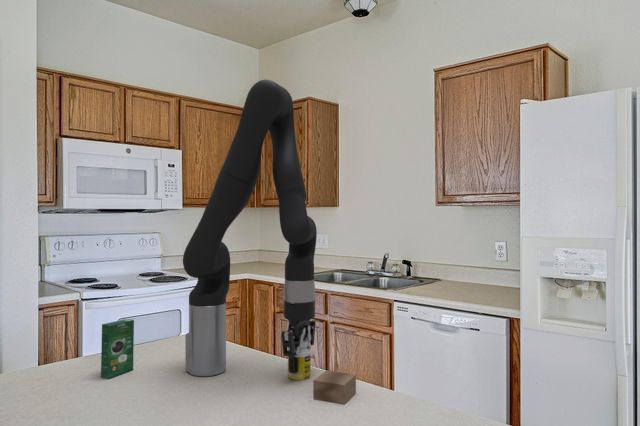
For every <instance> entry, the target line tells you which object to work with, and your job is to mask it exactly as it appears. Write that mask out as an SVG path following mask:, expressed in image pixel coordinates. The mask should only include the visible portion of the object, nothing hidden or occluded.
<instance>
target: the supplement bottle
mask: <svg viewBox="0 0 640 426" xmlns="http://www.w3.org/2000/svg"><path fill="white" fill-rule="evenodd" d="M294 343H298V342H294ZM307 347H308V340H307V339H306V340H303V343H302V347H301V348H300V349H299V355H298V357H299V362H298V372H297V373H290V372H289V357H288V356H287V378H288V379H289V380H291V381H298V382H299V381H307V380H308V379H310V378H311V360H312V359H311V357H312V356H311V354H312V353H311V349H310V350H309V349H308V348H307ZM294 348H295V349H296V347H294Z"/></svg>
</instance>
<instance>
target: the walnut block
mask: <svg viewBox="0 0 640 426" xmlns="http://www.w3.org/2000/svg"><path fill="white" fill-rule="evenodd" d="M312 382H313V383H312V385H313V386H312V388H313V390H312V392H313V393H312V397H313V399H315V400H321V401H326V402H332V403H338V404H343V405H344V404H345V403H346V402H347V401H348V400H349V399H350V398H351V397H352V396H353V395H354V394H355V393H356V392H357V374H354V373H348V372H347V373H346V372H341V371H340V372H339V371H333V370H328V369H327V370H325V371H323V373H321V374H320V375H318V376H317V377H316V378H314V379H313V381H312Z"/></svg>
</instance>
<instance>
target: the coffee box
mask: <svg viewBox="0 0 640 426" xmlns="http://www.w3.org/2000/svg"><path fill="white" fill-rule="evenodd" d="M134 330H135V319H132V318H125V319H121V320H116V321H111V322H106V323H102V324H101V357H100V358H101V359H100V360H101V361H100V365H101V366H100V378H102V379H105V380H108V379H111V378H115V377H117V376H119V375H122V374H126V373H129V372H131V371H134V343H135V341H134V339H135V331H134Z"/></svg>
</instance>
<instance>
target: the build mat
mask: <svg viewBox="0 0 640 426" xmlns="http://www.w3.org/2000/svg"><path fill="white" fill-rule="evenodd" d="M360 394H361V393H360V392H359V391H356V393H355V394H354V395H353V396H352V397H351V398H350V399H349V400H348V401H347V402H346V403H345V404H344V405H343V404H338V403H332V402H326V401H321V400H315V399H313V396H311V398H309V400H308V401H311V402H317V403H322V404H323V403H324V404H329V405H334V406H341V407H345V408H346V407H348V405H350V404H351V402H352V401H353V400H355V398H356V397H358V395H360Z"/></svg>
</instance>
